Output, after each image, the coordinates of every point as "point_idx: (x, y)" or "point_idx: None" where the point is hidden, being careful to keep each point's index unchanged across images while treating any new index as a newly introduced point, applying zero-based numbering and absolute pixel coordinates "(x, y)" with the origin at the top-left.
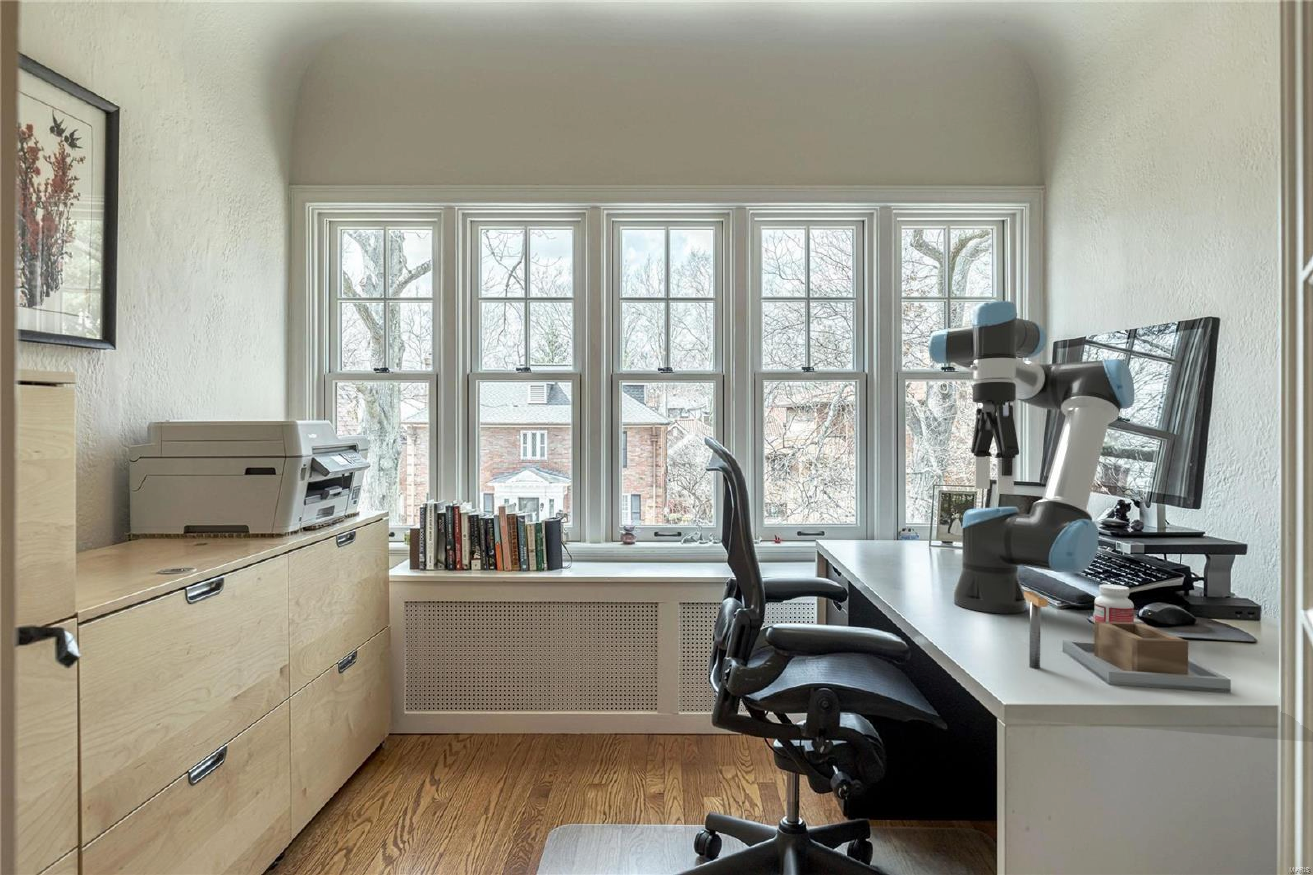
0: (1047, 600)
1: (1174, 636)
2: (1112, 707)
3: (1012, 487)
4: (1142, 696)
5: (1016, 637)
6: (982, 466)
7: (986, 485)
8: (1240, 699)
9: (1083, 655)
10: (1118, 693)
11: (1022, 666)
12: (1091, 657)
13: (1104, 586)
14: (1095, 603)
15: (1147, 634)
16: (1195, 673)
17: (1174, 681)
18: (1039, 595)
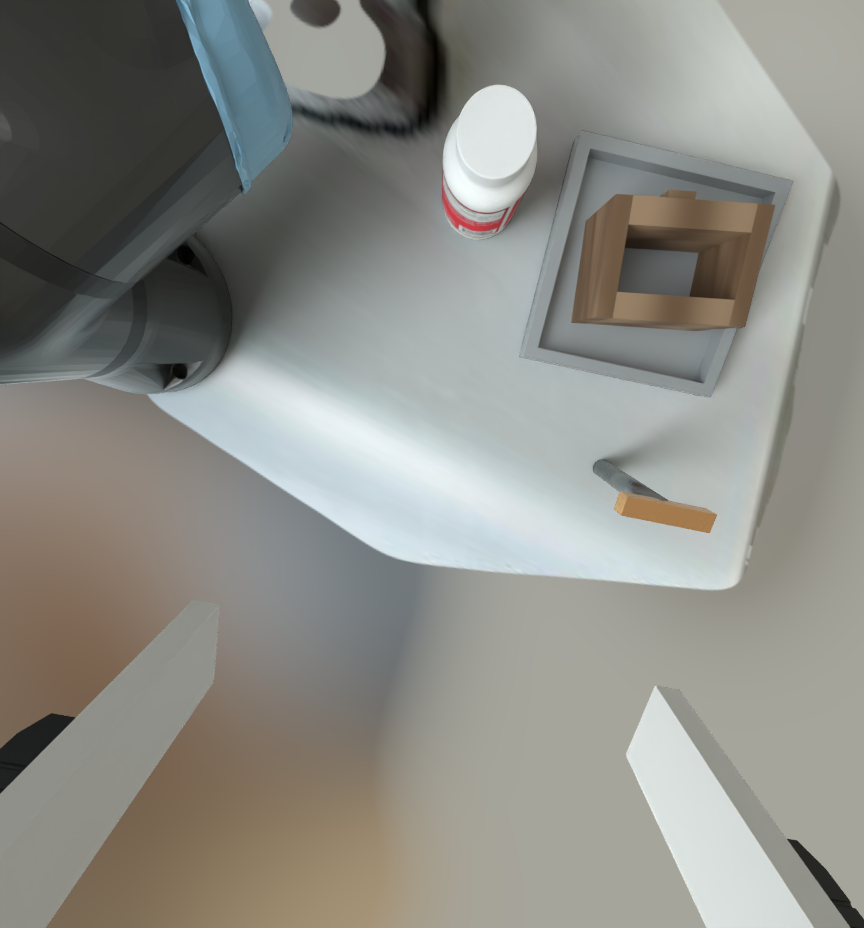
0: (716, 514)
1: (737, 207)
2: (779, 457)
3: (702, 730)
4: (752, 376)
5: (425, 396)
6: (89, 815)
7: (203, 638)
8: (801, 201)
9: (614, 376)
10: (733, 407)
11: (595, 486)
12: (634, 373)
13: (492, 167)
14: (473, 209)
15: (667, 231)
16: (695, 184)
17: None
18: (673, 506)
